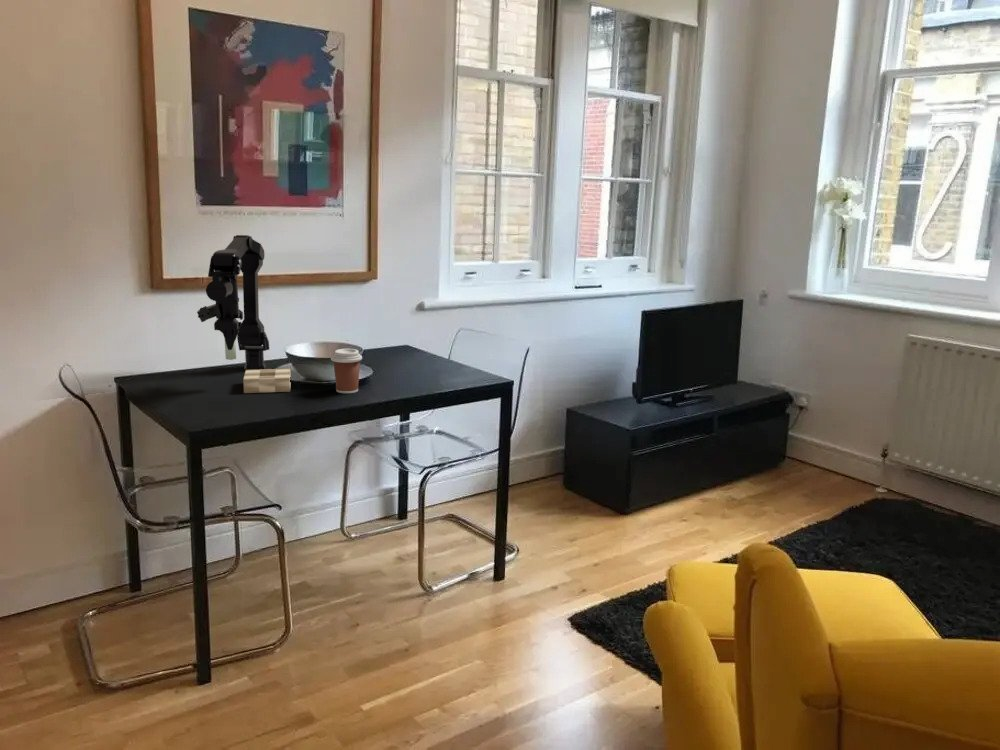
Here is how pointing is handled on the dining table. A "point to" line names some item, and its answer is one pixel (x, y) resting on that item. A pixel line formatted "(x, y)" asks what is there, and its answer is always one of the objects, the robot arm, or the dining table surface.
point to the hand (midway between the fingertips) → (230, 348)
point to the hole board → (267, 380)
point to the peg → (230, 352)
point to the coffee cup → (346, 370)
